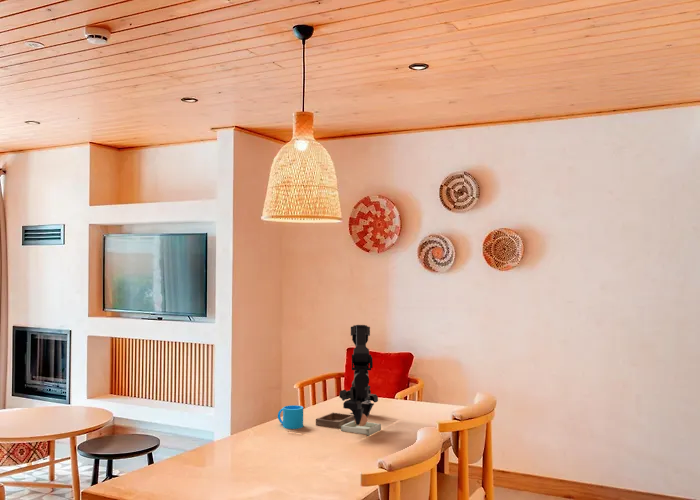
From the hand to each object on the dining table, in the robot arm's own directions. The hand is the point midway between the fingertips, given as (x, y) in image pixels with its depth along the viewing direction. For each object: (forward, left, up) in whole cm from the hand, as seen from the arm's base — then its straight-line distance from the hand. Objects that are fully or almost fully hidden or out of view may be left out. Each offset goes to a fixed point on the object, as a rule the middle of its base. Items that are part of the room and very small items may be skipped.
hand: (360, 423), depth 243 cm
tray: (0, 0, -3) cm, 3 cm away
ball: (0, 0, -1) cm, 1 cm away
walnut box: (-4, -14, -3) cm, 15 cm away
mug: (+9, -28, -3) cm, 30 cm away
